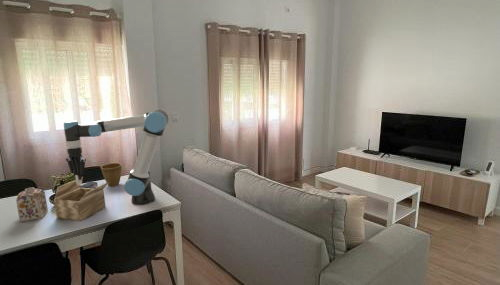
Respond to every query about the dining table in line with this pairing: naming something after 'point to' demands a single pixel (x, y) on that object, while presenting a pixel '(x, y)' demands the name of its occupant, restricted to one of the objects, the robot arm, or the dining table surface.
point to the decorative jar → (31, 204)
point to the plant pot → (112, 173)
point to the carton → (79, 204)
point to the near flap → (94, 191)
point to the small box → (89, 185)
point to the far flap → (66, 188)
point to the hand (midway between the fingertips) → (79, 184)
